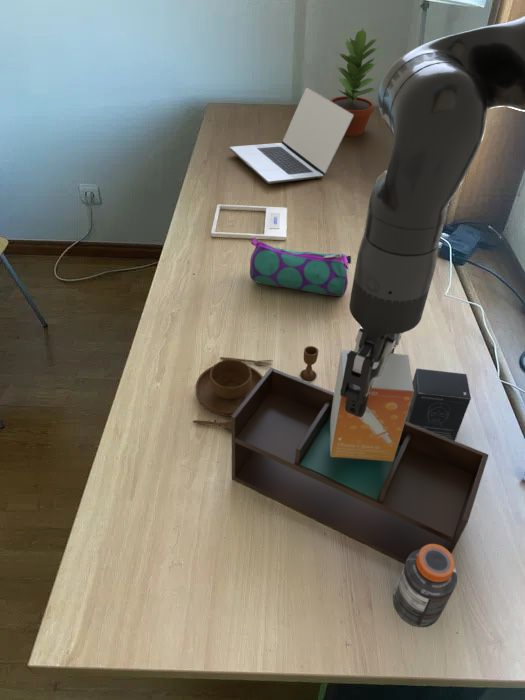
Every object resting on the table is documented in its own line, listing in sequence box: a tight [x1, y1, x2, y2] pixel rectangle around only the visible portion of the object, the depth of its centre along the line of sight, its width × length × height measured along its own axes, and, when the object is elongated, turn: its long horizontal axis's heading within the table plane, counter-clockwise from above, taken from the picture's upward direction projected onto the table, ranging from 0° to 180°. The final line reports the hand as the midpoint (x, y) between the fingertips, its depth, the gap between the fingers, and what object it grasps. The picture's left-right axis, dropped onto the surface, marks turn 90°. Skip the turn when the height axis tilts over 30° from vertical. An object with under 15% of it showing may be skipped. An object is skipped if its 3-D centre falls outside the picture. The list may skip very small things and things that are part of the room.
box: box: [405, 368, 472, 441], centre depth 88 cm, size 8×6×11 cm
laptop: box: [229, 86, 354, 185], centre depth 161 cm, size 26×24×18 cm
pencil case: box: [249, 237, 352, 297], centre depth 118 cm, size 21×9×10 cm, turn 78°
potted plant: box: [329, 27, 379, 137], centre depth 179 cm, size 15×15×30 cm
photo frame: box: [210, 203, 288, 241], centre depth 140 cm, size 15×1×18 cm
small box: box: [330, 349, 414, 462], centre depth 69 cm, size 8×6×13 cm
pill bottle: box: [392, 544, 458, 628], centre depth 67 cm, size 6×6×11 cm
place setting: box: [192, 345, 319, 431], centre depth 94 cm, size 18×20×6 cm
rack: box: [230, 367, 489, 565], centre depth 77 cm, size 31×11×14 cm, turn 61°
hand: (367, 389), depth 67 cm, fingers closed on small box, 8 cm apart
